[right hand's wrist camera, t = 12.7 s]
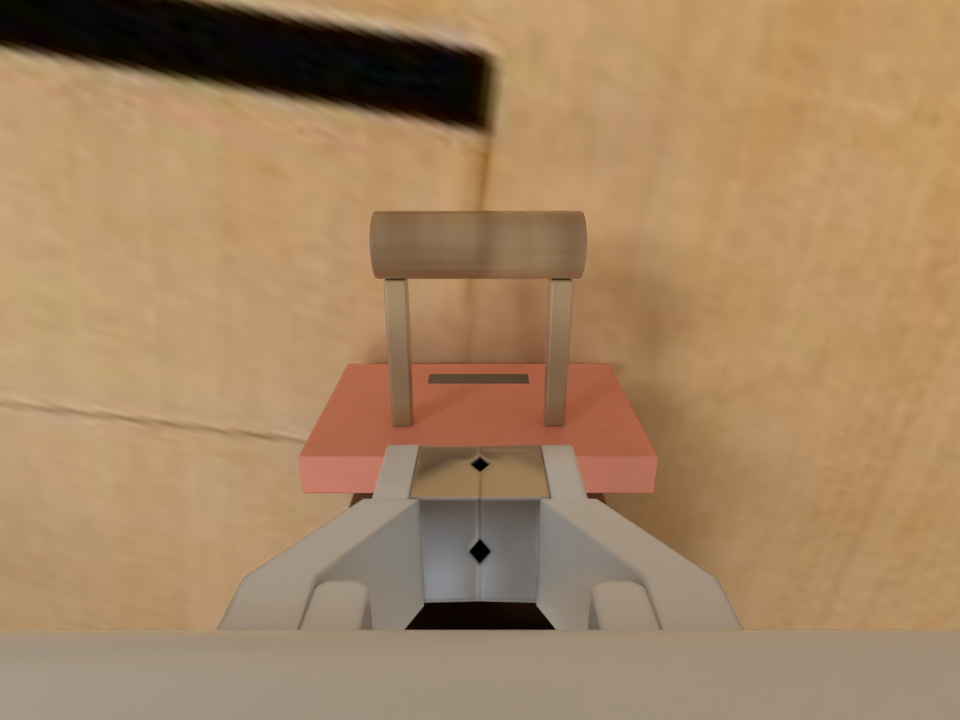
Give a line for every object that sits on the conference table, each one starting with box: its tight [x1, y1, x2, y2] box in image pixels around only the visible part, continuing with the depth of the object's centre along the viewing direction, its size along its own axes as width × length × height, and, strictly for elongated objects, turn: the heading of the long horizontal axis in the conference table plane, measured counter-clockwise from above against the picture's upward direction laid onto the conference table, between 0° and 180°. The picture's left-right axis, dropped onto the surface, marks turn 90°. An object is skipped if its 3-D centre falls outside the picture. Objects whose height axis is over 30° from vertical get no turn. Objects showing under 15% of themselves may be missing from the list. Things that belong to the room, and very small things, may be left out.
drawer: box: [298, 211, 658, 630], centre depth 22 cm, size 24×10×7 cm, turn 0°
